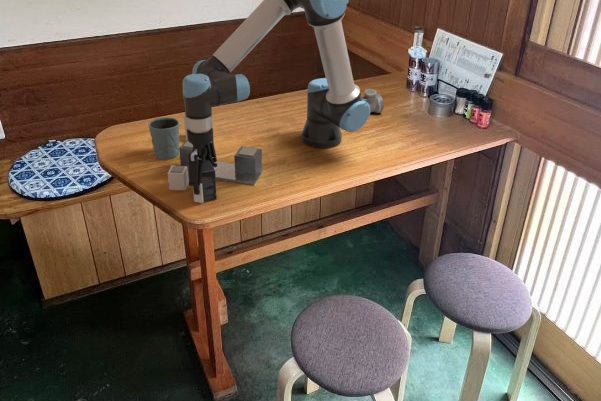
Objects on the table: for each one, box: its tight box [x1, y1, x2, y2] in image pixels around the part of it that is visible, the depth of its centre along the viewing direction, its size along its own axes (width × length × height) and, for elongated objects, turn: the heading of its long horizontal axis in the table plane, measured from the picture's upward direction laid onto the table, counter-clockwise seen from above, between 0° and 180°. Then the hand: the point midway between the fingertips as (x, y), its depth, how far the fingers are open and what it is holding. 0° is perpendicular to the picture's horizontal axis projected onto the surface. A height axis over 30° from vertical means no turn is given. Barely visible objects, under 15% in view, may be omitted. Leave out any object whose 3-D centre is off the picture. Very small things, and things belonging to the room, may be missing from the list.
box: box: [200, 159, 217, 203], centre depth 171 cm, size 8×6×11 cm
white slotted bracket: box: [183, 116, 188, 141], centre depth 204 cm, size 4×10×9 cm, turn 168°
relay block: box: [167, 165, 189, 191], centre depth 177 cm, size 5×5×6 cm
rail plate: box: [179, 139, 264, 186], centre depth 184 cm, size 26×10×9 cm, turn 76°
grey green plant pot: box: [147, 116, 180, 161], centre depth 193 cm, size 10×10×12 cm
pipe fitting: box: [361, 88, 385, 114], centre depth 228 cm, size 12×8×10 cm
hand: (205, 193), depth 174 cm, fingers closed on box, 9 cm apart
